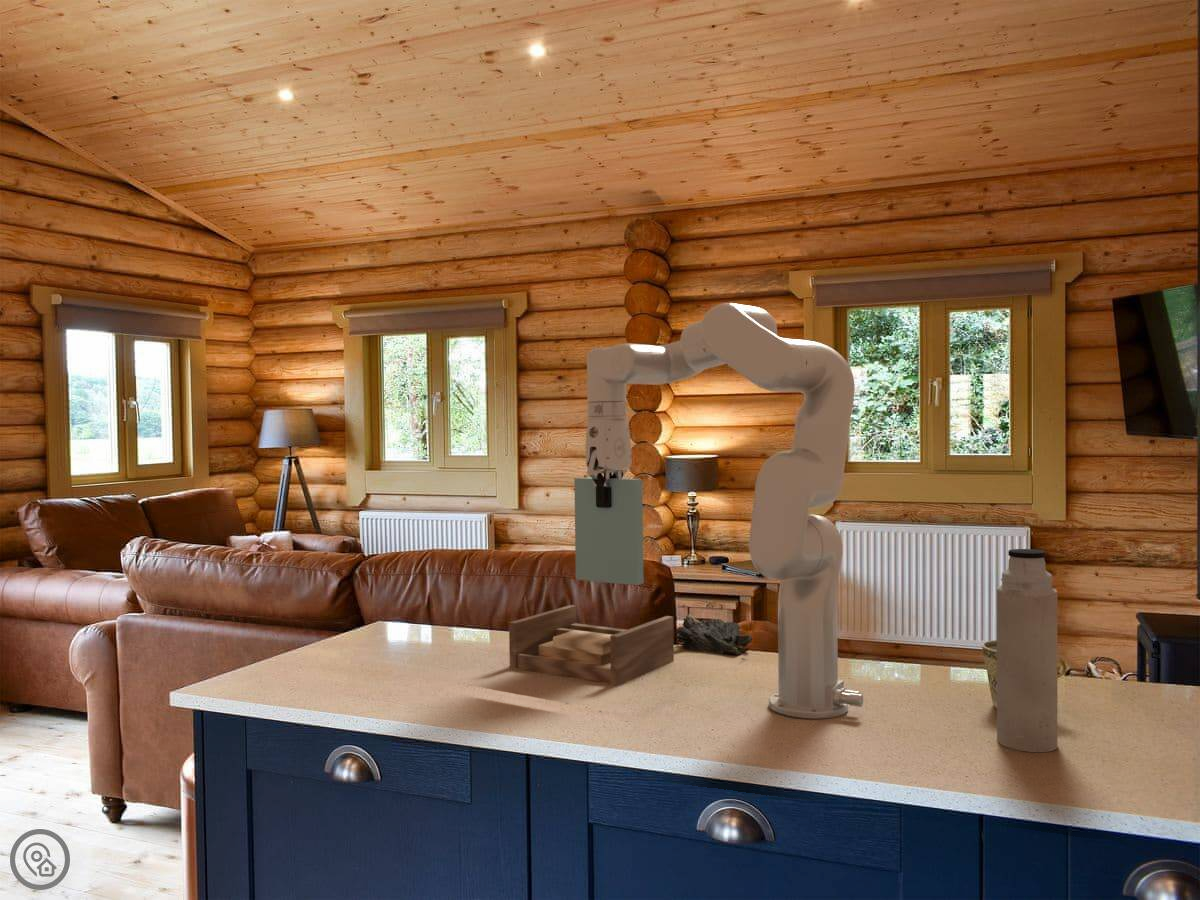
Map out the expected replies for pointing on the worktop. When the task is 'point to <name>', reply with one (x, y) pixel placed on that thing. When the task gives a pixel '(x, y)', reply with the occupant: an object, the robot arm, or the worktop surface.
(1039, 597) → the thermos bottle
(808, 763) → the worktop surface
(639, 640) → the walnut rack
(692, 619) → the mineral specimen
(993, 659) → the ceramic cup
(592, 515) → the teal sheet
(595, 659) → the offcut stack
